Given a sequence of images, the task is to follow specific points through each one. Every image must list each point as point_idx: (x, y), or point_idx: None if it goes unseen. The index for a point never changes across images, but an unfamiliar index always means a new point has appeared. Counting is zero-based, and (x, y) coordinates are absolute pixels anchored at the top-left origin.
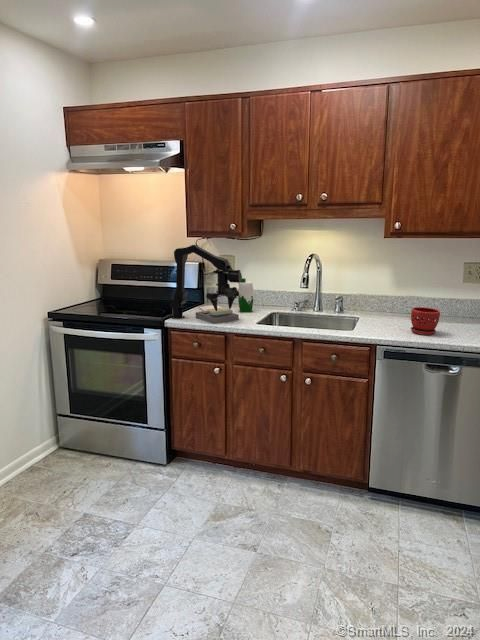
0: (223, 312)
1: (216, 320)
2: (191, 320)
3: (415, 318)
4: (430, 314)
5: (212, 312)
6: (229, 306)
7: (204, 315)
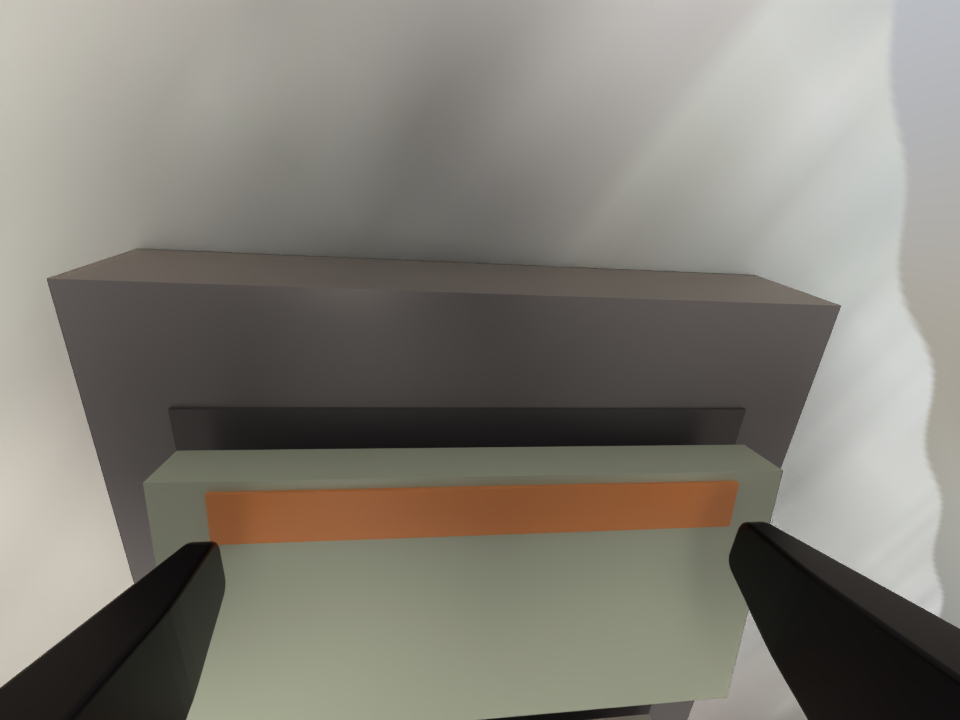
0: (504, 468)
1: (760, 290)
2: None
3: None
4: None
5: None
6: (186, 648)
7: None
